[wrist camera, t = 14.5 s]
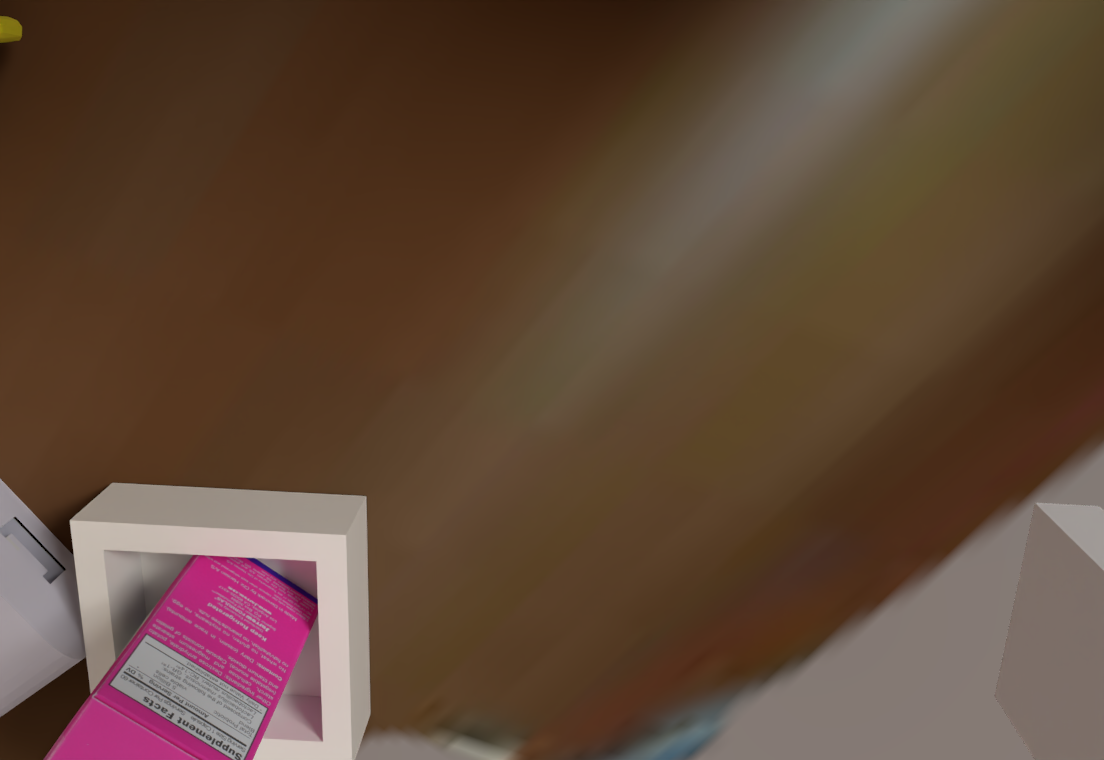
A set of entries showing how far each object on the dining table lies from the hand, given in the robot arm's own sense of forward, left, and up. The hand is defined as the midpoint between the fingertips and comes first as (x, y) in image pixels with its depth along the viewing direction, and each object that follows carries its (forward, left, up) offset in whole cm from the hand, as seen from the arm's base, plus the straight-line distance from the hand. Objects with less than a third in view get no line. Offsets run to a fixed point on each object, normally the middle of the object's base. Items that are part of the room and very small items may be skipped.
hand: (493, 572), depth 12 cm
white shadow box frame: (+17, -13, -27) cm, 34 cm away
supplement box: (+17, -13, -26) cm, 34 cm away
